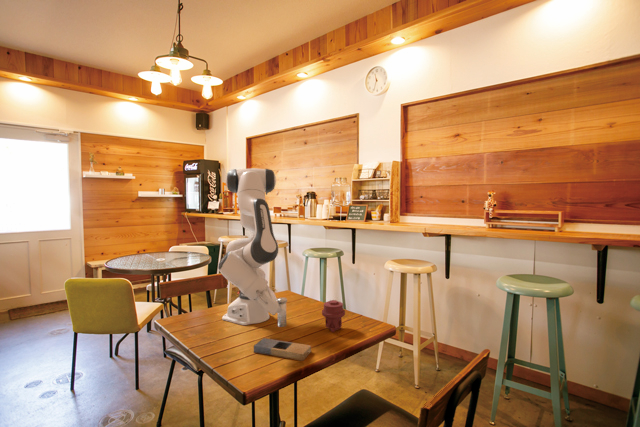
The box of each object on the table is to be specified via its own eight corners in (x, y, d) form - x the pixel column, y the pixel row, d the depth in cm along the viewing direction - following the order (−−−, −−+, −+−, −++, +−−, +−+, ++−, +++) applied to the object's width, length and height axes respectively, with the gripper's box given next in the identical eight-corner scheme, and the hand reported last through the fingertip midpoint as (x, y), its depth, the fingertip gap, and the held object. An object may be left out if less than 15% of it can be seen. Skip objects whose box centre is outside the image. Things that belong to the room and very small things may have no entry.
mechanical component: (346, 325, 149) (343, 334, 139) (324, 324, 151) (320, 333, 141) (346, 298, 148) (343, 305, 139) (324, 297, 150) (319, 304, 141)
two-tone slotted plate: (253, 352, 124) (253, 345, 124) (264, 344, 131) (263, 338, 131) (302, 360, 117) (302, 354, 117) (310, 351, 124) (310, 345, 124)
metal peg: (274, 326, 122) (274, 300, 122) (279, 322, 126) (279, 297, 126) (284, 327, 121) (283, 301, 120) (289, 324, 124) (288, 298, 124)
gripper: (264, 288, 111) (294, 314, 114) (260, 275, 131) (285, 298, 134) (251, 302, 110) (281, 328, 113) (248, 287, 130) (274, 310, 133)
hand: (283, 312), depth 123 cm, fingers closed on metal peg, 3 cm apart
